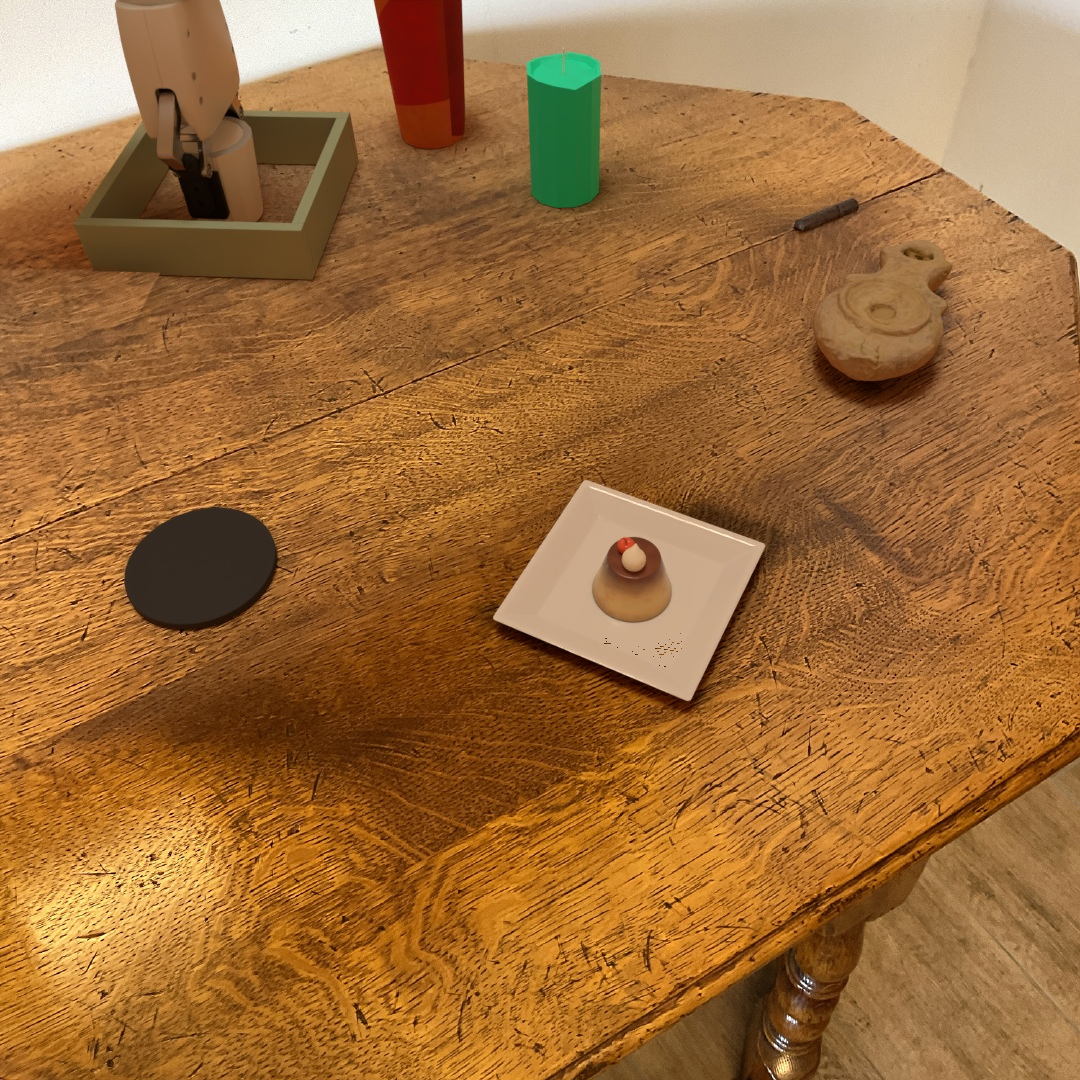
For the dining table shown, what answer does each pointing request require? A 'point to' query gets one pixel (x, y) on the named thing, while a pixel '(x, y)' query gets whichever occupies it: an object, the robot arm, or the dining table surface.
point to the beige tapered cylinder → (233, 168)
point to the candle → (564, 128)
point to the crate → (224, 245)
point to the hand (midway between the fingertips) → (224, 190)
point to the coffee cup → (425, 68)
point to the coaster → (200, 568)
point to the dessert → (633, 587)
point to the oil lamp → (886, 314)
